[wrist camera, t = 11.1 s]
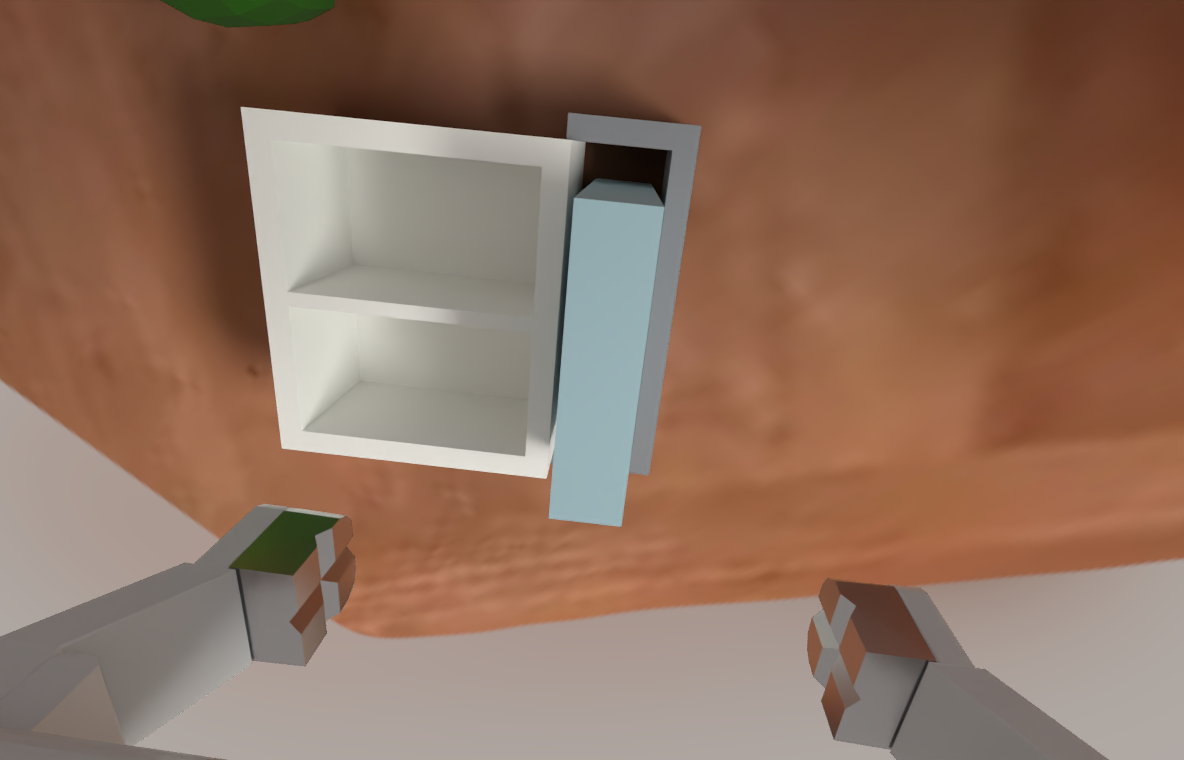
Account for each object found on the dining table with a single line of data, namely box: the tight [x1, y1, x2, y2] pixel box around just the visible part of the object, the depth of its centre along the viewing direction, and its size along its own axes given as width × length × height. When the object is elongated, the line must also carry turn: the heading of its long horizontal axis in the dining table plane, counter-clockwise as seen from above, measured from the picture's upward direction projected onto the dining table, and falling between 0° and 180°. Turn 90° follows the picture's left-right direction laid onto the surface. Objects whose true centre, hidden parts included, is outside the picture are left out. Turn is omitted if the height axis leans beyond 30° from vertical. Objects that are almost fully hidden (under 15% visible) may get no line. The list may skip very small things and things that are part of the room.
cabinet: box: [241, 107, 701, 479], centre depth 27 cm, size 17×16×7 cm
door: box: [549, 178, 664, 527], centre depth 24 cm, size 3×11×12 cm, turn 174°
